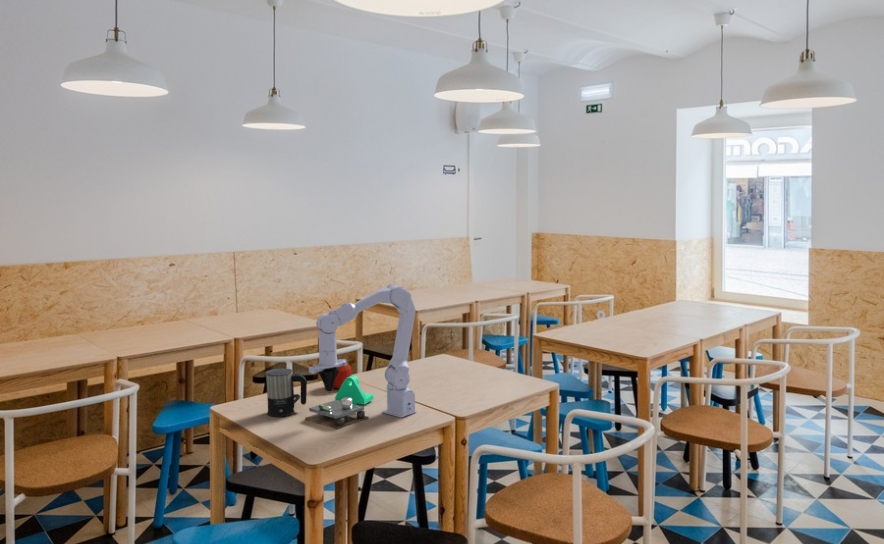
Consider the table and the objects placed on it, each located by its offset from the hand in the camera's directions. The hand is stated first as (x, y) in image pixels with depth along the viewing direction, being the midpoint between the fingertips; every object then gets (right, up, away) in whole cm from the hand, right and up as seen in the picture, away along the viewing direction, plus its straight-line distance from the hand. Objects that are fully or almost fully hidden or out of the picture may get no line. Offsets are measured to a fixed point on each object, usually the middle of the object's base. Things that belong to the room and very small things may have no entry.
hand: (329, 390), depth 220 cm
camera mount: (+6, -9, +22) cm, 25 cm away
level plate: (+2, -7, +3) cm, 8 cm away
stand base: (+2, -10, +3) cm, 11 cm away
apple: (-3, -6, +42) cm, 42 cm away
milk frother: (-18, -10, +14) cm, 25 cm away
